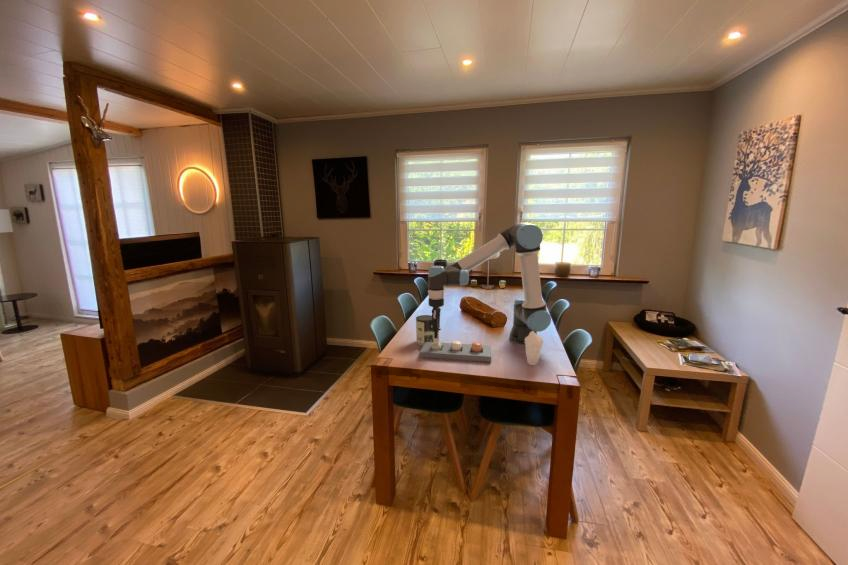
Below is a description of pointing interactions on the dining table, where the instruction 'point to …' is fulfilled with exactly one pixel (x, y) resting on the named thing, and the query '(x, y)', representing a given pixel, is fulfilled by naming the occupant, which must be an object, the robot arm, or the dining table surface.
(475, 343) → the terracotta button
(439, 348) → the sage button
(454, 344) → the cream button
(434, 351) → the button panel
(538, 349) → the soft serve ice cream cone
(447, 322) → the dining table surface
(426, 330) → the coffee can
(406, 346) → the dining table surface
